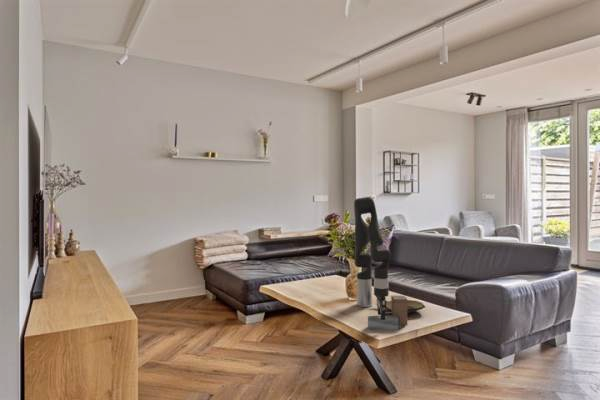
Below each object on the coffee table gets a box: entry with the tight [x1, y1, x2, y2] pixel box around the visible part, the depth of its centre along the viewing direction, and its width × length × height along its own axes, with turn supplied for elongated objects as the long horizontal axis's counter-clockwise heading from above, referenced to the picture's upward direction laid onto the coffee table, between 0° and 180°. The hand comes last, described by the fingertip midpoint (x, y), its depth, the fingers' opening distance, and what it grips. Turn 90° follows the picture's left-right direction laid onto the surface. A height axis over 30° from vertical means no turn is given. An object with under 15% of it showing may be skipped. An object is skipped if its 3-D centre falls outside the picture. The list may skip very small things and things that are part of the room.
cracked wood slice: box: [375, 296, 426, 314], centre depth 237 cm, size 22×30×8 cm
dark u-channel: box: [385, 295, 408, 326], centre depth 215 cm, size 8×12×14 cm, turn 89°
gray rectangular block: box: [367, 315, 401, 330], centre depth 207 cm, size 4×16×6 cm, turn 89°
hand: (381, 317), depth 207 cm, fingers open, 8 cm apart
